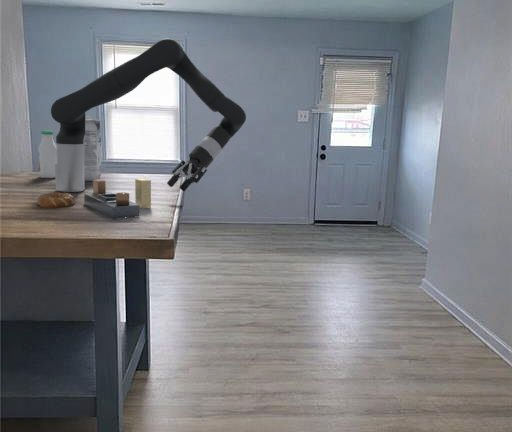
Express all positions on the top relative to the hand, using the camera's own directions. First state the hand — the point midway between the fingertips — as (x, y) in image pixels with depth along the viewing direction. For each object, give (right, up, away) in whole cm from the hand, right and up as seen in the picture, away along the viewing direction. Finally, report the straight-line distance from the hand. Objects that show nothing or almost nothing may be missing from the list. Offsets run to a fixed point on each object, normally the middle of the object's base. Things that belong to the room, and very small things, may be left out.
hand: (175, 187), depth 153 cm
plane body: (-18, -8, -13) cm, 23 cm away
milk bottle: (-63, +7, +46) cm, 78 cm away
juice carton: (-46, +6, +45) cm, 64 cm away
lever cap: (-9, -7, -6) cm, 13 cm away
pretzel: (-36, -6, -8) cm, 38 cm away
